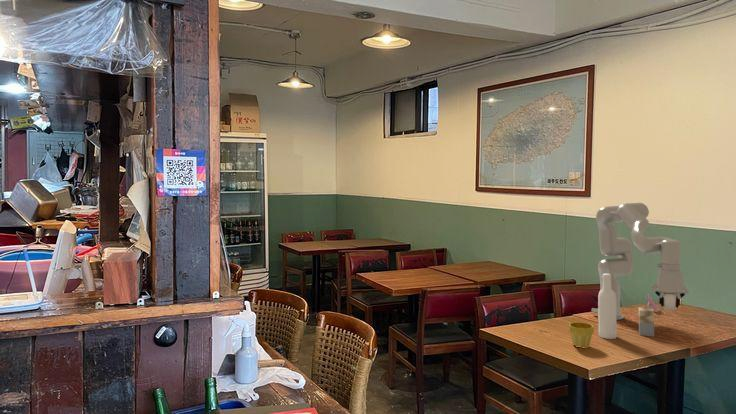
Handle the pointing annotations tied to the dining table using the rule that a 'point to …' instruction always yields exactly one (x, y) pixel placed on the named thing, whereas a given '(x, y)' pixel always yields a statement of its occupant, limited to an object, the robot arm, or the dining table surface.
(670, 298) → the cylinder
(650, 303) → the lily
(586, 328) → the plant pot
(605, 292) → the bottle
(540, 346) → the dining table surface
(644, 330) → the tower base
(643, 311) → the tower top
